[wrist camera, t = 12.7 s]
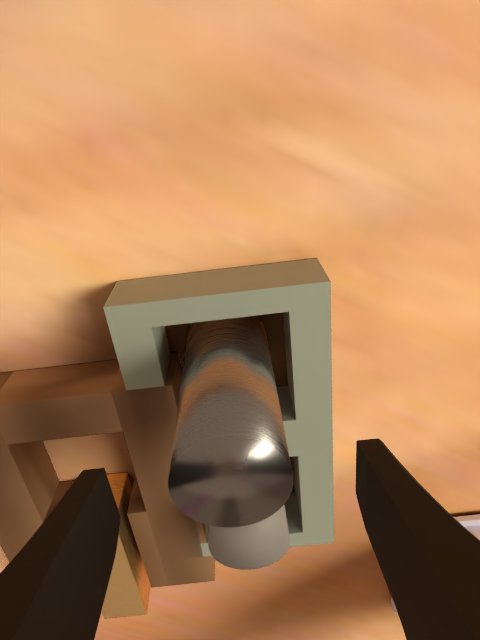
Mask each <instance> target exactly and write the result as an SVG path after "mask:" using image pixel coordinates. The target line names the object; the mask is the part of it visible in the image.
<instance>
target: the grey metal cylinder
mask: <svg viewBox="0 0 480 640" xmlns="http://www.w3.org/2000/svg"><path fill="white" fill-rule="evenodd" d="M292 488H293V473H292V468H291V462H290V457H289V452H288V447H287V441H286V436H285V431H284V425H283V420H282V415H281V409H280V404H279V399H278V394H277V388H276V383H275V378H274V372H273V367H272V362H271V356H270V351H269V346H268V341H267V335H266V330H265V327H264V325H263V323H262V321H261V319H260V318H259V317H258V316H257V315H256V316H247V317H238V318H229V319H221V320H212V321H203V322H195V323H191V325H190V327H189V330H188V335H187V342H186V350H185V357H184V365H183V372H182V380H181V387H180V395H179V402H178V410H177V417H176V425H175V432H174V440H173V447H172V455H171V462H170V470H169V477H168V489H169V493H170V496H171V498H172V500H173V502H174V504H175V505H176V506H177V507H178V508H179V509H180V510H181V511H182V512H183V513H184V514H185V515H187V516H188V517H190V518H192V519H193V520H196V521H198V522H200V523H203V524H206V525H211V526H216V527H241V526H247V525H251V524H254V523H257V522H260V521H262V520H264V519H266V518H268V517H270V516H272V515H273V514H274V513H276V512H277V511H278V510H279V509H280V508H281V507H282V506H283V505H284V504H285V503H286V501H287V500H288V498H289V497H290V494H291V492H292Z"/></svg>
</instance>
